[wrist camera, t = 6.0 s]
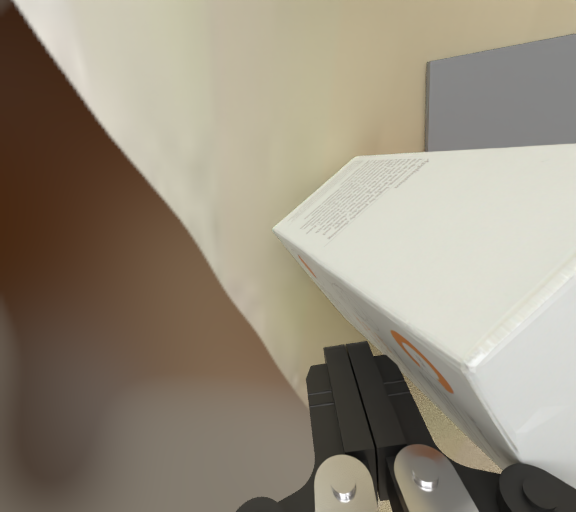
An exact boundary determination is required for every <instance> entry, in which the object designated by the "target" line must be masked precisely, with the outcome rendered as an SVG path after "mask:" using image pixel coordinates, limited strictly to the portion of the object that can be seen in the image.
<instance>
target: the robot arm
mask: <svg viewBox="0 0 576 512" xmlns="http://www.w3.org/2000/svg"><path fill="white" fill-rule="evenodd" d="M323 349H324V356H325V363H326V364H320V365H313V366H311V367H310V370H309V372H308V375H307V378H306V383H307V391H308V400H309V408H310V417H311V426H312V435H313V444H314V452H315V465H314V469H313V472H312V475H311V477H310V478H309V480H308V482H307V483H306V484H305V485H304V486H303V487H302V488H301V489H300V490H298V491H297V492H295V493H293V494H292V495H290V496H288V497H286V498H284V499H283V500H281V501H279V502H276V501H274V500H273V499H270V498H267V497H257V498H253V499H251V500H249V501H247V502H245V503H244V504H243V505H242V506H241V507H240V508H239V509H238V510H237V511H236V512H378V502H377V501H378V495H379V499H380V501H383V500H389V501H390V504H391V508H392V511H393V512H576V489H575V488H573V487H572V486H570V485H568V484H567V483H565V482H563V481H562V480H560V479H558V478H557V477H555V476H553V475H552V474H550V473H548V472H547V471H545V470H543V469H541V468H538V467H536V466H532V465H529V464H513V465H510V466H508V467H506V468H505V469H504V470H503V471H502V473H501V474H497V473H492V472H487V471H482V470H477V469H472V468H469V467H465V466H463V465H460V464H458V463H456V462H454V461H453V460H451V459H450V458H448V457H447V456H446V455H445V454H443V453H442V452H441V451H440V450H439V448H438V447H437V446H436V444H435V443H434V441H433V439H432V437H431V435H430V433H429V431H428V429H427V427H426V425H425V422H424V420H423V418H422V416H421V414H420V412H419V410H418V407H417V405H416V403H415V401H414V399H413V397H412V395H411V394H410V390H409V388H408V386H407V384H406V382H405V381H404V378H403V375H402V373H401V371H400V369H399V367H398V365H397V364H396V363H395V362H394V361H392V360H391V359H390V358H389V357H388V356H387V355H380V356H373V354H372V352H371V349H370V347H369V344H368V342H367V341H364V342H357V343H350V344H345V345H338V346H331V347H325V348H323ZM377 491H378V495H377Z"/></svg>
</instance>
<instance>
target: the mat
mask: <svg viewBox="0 0 576 512" xmlns="http://www.w3.org/2000/svg"><path fill="white" fill-rule="evenodd" d="M575 143H576V34H571V35H566V36H561V37H556V38H550V39H545V40H540V41H535V42H529V43H524V44H519V45H514V46H508V47H503V48H498V49H493V50H487V51H482V52H477V53H472V54H466V55H461V56H456V57H451V58H445V59H440V60H435V61H430V62H427V79H426V125H425V152H434V151H454V150H470V149H487V148H508V147H523V146H539V145H556V144H575Z"/></svg>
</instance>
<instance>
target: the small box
mask: <svg viewBox="0 0 576 512" xmlns="http://www.w3.org/2000/svg"><path fill="white" fill-rule="evenodd" d="M272 231H273V232H274V234H275V235H276V236H277V238H278V239H279V240H280V241H281V243H282V244H283V245H284V246H285V247H286V249H287V250H288V251H289V252H290V254H291V255H292V256H293V257H294V258H295V260H296V261H297V262H298V263H299V264H300V266H301V267H302V268H303V269H304V270H305V272H306V273H307V274H308V275H309V276H310V278H311V279H312V280H313V281H314V282H315V284H316V285H317V286H318V287H319V288H320V290H321V291H322V292H323V293H324V294H325V295H326V297H327V298H328V299H329V300H330V301H331V303H332V304H333V305H334V306H335V307H336V309H337V310H338V311H339V312H340V313H341V314H342V315H343V316H344V318H345V319H346V320H347V321H348V322H350V323H351V324H352V325H353V326H354V327H355V328H356V329H357V330H358V331H359V332H360V333H361V334H362V335H363V336H364V337H365V338H367V339H368V340H369V341H370V342H371V343H372V344H373V345H374V346H375V347H376V348H377V349H378V350H380V351H381V352H382V353H383V354H384V355H387V356H388V357H389V358H390V359H391V360H392V361H394V362H395V363H396V364H397V365H398V367H399V369H400V371H401V372H402V373H403V374H404V375H405V376H406V377H407V378H408V379H409V380H410V381H411V382H412V383H413V384H414V385H415V386H416V387H417V388H418V389H419V390H420V391H421V392H422V393H423V394H424V395H425V396H427V397H428V398H429V399H430V400H431V401H432V402H433V403H434V404H435V405H436V406H437V407H438V408H439V409H440V410H441V411H442V412H443V413H444V414H445V415H446V416H447V417H448V418H449V419H450V420H451V421H452V422H453V423H454V424H455V425H456V426H457V427H458V428H459V429H460V430H461V431H462V432H463V433H464V434H465V435H467V436H468V437H469V438H470V439H471V440H472V441H473V442H474V443H475V444H476V445H477V446H478V447H479V448H480V449H481V450H482V451H483V452H484V453H485V454H486V455H487V456H488V457H489V458H490V459H491V460H492V461H493V462H495V463H496V464H497V465H498V466H499V467H500V468H501V469H502V470H504V469H505V468H506V467H508V466H510V465H513V464H529V465H532V466H536V467H538V468H541V469H543V470H545V471H547V472H548V473H550V474H552V475H553V476H555V477H557V478H558V479H560V480H562V481H563V482H565V483H567V484H568V485H570V486H572V487H573V488H575V489H576V143H575V144H556V145H539V146H523V147H508V148H487V149H470V150H454V151H434V152H417V153H398V154H383V155H365V156H356V157H354V158H353V159H351V160H350V161H349V162H348V163H347V164H346V165H345V166H344V167H342V168H341V169H340V170H339V171H338V172H337V173H336V174H334V175H333V176H332V177H331V178H330V179H329V180H327V181H326V182H325V183H324V184H323V185H322V186H321V187H320V188H318V189H317V190H316V191H315V192H314V193H313V194H311V195H310V196H309V197H308V198H307V199H306V200H304V201H303V202H302V203H301V204H300V205H299V206H298V207H296V208H295V209H294V210H293V211H292V212H291V213H289V214H288V215H287V216H286V217H285V218H284V219H282V220H281V221H280V222H279V223H278V224H277V225H275V226H274V227H273V229H272Z"/></svg>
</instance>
